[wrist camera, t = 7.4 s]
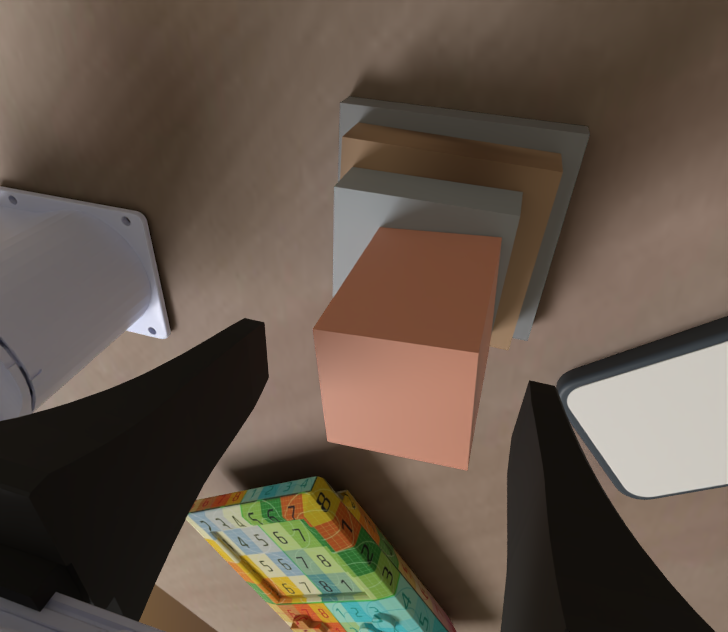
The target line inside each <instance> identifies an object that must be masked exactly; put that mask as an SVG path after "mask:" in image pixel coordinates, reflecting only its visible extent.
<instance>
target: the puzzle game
mask: <svg viewBox="0 0 728 632" xmlns="http://www.w3.org/2000/svg"><path fill="white" fill-rule="evenodd" d="M186 520H187V521H188V522H189V523H190V524H191V525H192V526H193V527H194V528H195V529H196V530H197V531H198V532H199V533H200V534H201V535H202V536H203V537H204V539H205V540H206V541H207V542H208V543H209V544H210V545H211V546H212V547H213V548H214V549H215V550H216V551H217V552H218V553H219V554H220V555H221V556H222V557H223V558H224V559H225V560H226V561H227V562H228V563H229V564H230V565H231V566H232V567H233V568H234V569H235V570H236V571H237V572H238V574H239V575H240V576H241V577H242V578H243V579H244V580H245V581H246V582H247V583H248V584H249V585H250V586H251V587H252V588H253V589H254V590H255V591H256V592H257V593H258V594H259V595H260V596H261V597H262V598H263V599H264V600H265V601H266V602H267V603H268V604H269V605H270V606H271V607H272V609H273V610H274V611H275V612H276V613H277V614H278V615H279V616H280V617H281V618H282V619H283V620H284V621H285V622H286V623H287V624H288V625H289V626H290V627H291V629H292V630H293V631H294V632H456V630H455V628H454V626H453V624H452V622H451V621H450V619H449V617H448V616H447V614H446V613H445V612H444V610H443V609H442V608H441V607H440V605H439V604H438V603H437V602H436V600H435V599H434V598H433V597H432V595H431V594H430V593H429V592H428V590H427V589H426V588H425V587H424V585H423V584H422V583H421V582H420V580H419V579H418V578H417V577H416V575H415V574H414V573H413V572H412V570H411V569H410V568H409V567H408V565H407V564H406V563H405V562H404V560H403V559H402V558H401V556H400V555H399V554H398V553H397V551H396V550H395V549H394V548H393V546H392V545H391V544H390V543H389V541H388V540H387V539H386V538H385V536H384V535H383V534H382V533H381V531H380V530H379V529H378V528H377V526H376V525H375V524H374V523H373V521H372V520H371V519H370V518H369V516H368V515H367V514H366V513H365V511H364V510H363V509H362V507H361V506H360V505H359V504H358V502H357V501H356V500H355V499H354V497H353V496H352V495H351V494H350V492H349V491H348V490H343V491H338V492H335V491H334V490H333V489H332V488H331V486H330V485H329V484H328V482H327V481H326V480H325V479H324V478H321V477H318V476H315V477H310V478H305V479H300V480H295V481H290V482H285V483H280V484H275V485H270V486H265V487H259V488H254V489H249V490H244V491H239V492H234V493H229V494H224V495H219V496H214V497H209V498H204V499H199V500H195V502H194V504H193V506H192V508H191V510H190V512H189V514H188V516H187V518H186Z"/></svg>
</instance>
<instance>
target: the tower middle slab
mask: <svg viewBox="0 0 728 632" xmlns="http://www.w3.org/2000/svg"><path fill="white" fill-rule="evenodd" d="M352 167H357V168H364V169H370V170H377V171H384V172H391V173H397V174H404V175H411V176H417V177H424V178H431V179H438V180H444V181H451V182H458V183H464V184H471V185H478V186H485V187H491V188H498V189H505V190H512V191H518V192H523V195H522V205H521V214H520V219H519V223H518V228H517V232H516V236H515V240H514V244H513V248H512V252H511V256H510V261H509V265H508V269H507V273H506V277H505V281H504V285H503V289H502V294H501V298H500V302H499V306H498V310H497V314H496V318H495V322H494V327H493V331H492V335H491V341H490V346H491V347H495V348H499V349H504V350H509V347H510V344H511V340H512V337H513V334H514V331H515V327H516V324H517V321H518V318H519V314H520V311H521V308H522V304H523V301H524V298H525V295H526V291H527V288H528V285H529V282H530V278H531V275H532V272H533V268H534V265H535V262H536V259H537V255H538V252H539V249H540V246H541V242H542V239H543V236H544V232H545V229H546V226H547V223H548V219H549V216H550V213H551V210H552V206H553V203H554V200H555V197H556V193H557V190H558V187H559V183H560V180H561V177H562V174H563V168H562V157H561V154H560V153H554V152H547V151H541V150H534V149H528V148H521V147H515V146H508V145H502V144H495V143H489V142H482V141H476V140H470V139H463V138H457V137H450V136H444V135H437V134H431V133H424V132H418V131H411V130H405V129H398V128H392V127H385V126H379V125H372V124H366V123H359V122H358V123H357V124H356V125H355V126H354V127H352V128H351V129H350V130H349V131H348V132H347V133H346V134H345V135H343V136H342V150H341V172H340V180H341V179H342V178H343V176H344V175H345V174H346V173H347V172H348V171H349V170H350V169H351V168H352Z"/></svg>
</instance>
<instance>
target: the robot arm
mask: <svg viewBox="0 0 728 632" xmlns="http://www.w3.org/2000/svg"><path fill="white" fill-rule="evenodd" d="M126 217H127V218H128V219H129V220H130V222H129V221H128V220H127V218H126ZM125 331H130V332H135V333H139V334H143V335H147V336H151V337H156V338H160V339H166V338H167V337H168V336H169V335H170V334H171V330H170V326H169V321H168V316H167V312H166V307H165V302H164V298H163V293H162V288H161V284H160V279H159V274H158V269H157V265H156V260H155V255H154V251H153V246H152V241H151V237H150V232H149V227H148V223H147V220H146V218H145V216H144V215H143V214H142V213H140V212H138V211H134V210H128V209H123V208H117V207H112V206H106V205H101V204H95V203H90V202H84V201H79V200H73V199H68V198H62V197H57V196H51V195H46V194H40V193H35V192H29V191H24V190H18V189H13V188H7V187H2V186H0V632H165V631H162V630H159V629H156V628H154V627H151V626H148V625H146V624H143V623H140V622H139V620H140V618H141V615H142V613H143V610H144V608H145V606H146V603H147V601H148V599H149V596H150V594H151V592H152V589H153V587H154V585H155V582H156V580H157V578H158V576H159V574H160V572H161V569H162V567H163V565H164V563H165V561H166V559H167V557H168V554H169V552H170V550H171V548H172V546H173V544H174V542H175V540H176V538H177V536H178V534H179V532H180V530H181V528H182V526H183V524H184V522H185V520H186V518H187V516H188V514H189V512H190V510H191V508H192V506H193V504H194V502H195V500H196V498H197V496H198V495H199V493H200V491H201V489H202V487H203V485H204V483H205V482H206V480H207V478H208V477H209V475H210V474H211V472H212V470H213V469H214V467H215V466H216V464H217V463H218V461H219V460H220V458H221V457H222V455H223V454H224V452H225V451H226V449H227V448H228V446H229V445H230V443H231V442H232V441H233V439H234V438H235V436H236V435H237V433H238V432H239V430H240V429H241V427H242V426H243V424H244V423H245V421H246V420H247V418H248V416H249V415H250V413H251V412H252V410H253V409H254V407H255V405H256V403H257V401H258V399H259V397H260V395H261V393H262V391H263V389H264V387H265V385H266V382H267V380H268V378H269V374H268V362H267V349H266V337H265V324H264V322H260V321H255V320H251V319H246V318H244V319H242V320H240V321H238V322H237V323H235V324H233V325H231V326H230V327H228V328H226V329H224V330H223V331H221V332H219V333H218V334H216V335H214V336H213V337H211V338H209V339H208V340H206V341H204V342H202V343H201V344H199V345H197V346H196V347H194V348H192V349H190V350H189V351H187V352H185V353H183V354H182V355H180V356H178V357H176V358H174V359H172V360H170V361H168V362H166V363H164V364H162V365H161V366H159V367H157V368H155V369H153V370H151V371H149V372H147V373H145V374H143V375H140V376H138V377H136V378H134V379H132V380H129V381H127V382H125V383H122V384H120V385H117V386H115V387H113V388H110V389H108V390H105V391H102V392H99V393H96V394H94V395H91V396H88V397H85V398H82V399H79V400H77V401H74V402H71V403H68V404H64V405H61V406H58V407H54V408H51V409H48V410H44V411H40V412H36V413H33V412H34V411H35V410H36V409H38V408H39V407H40V406H41V405H42V404H43V403H44V402H45V401H47V400H48V399H49V398H50V397H51V396H52V395H53V394H55V393H56V392H57V391H58V390H59V389H60V388H61V387H62V386H64V385H65V384H66V383H67V382H68V381H69V380H70V379H72V378H73V377H74V376H75V375H76V374H77V373H78V372H79V371H81V370H82V369H83V368H84V367H85V366H86V365H87V364H89V363H90V362H91V361H92V360H93V359H94V358H95V357H96V356H98V355H99V354H100V353H101V352H102V351H103V350H104V349H105V348H107V347H108V346H109V345H110V344H111V343H112V342H113V341H115V340H116V339H117V338H118V337H119V336H120V335H121V334H122V333H124V332H125ZM501 632H715V631H714V630H713V629H712V628H711V627H710V626H709V625H708V624H707V623H706V622H705V621H704V620H703V619H702V618H701V617H700V616H699V615H698V614H697V612H696V611H695V610H694V609H693V608H692V607H691V606H690V605H689V604H688V602H687V601H686V600H685V599H684V598H683V597H682V596H681V595H680V593H679V592H678V591H677V590H676V589H675V588H674V587H673V586H672V584H671V583H670V582H669V581H668V580H667V578H666V577H665V576H664V575H663V573H662V572H661V571H660V570H659V568H658V567H657V566H656V565H655V563H654V562H653V561H652V560H651V558H650V557H649V556H648V555H647V553H646V552H645V551H644V549H643V548H642V547H641V546H640V544H639V543H638V541H637V540H636V539H635V537H634V536H633V534H632V533H631V532H630V530H629V529H628V527H627V526H626V525H625V523H624V521H623V520H622V518H621V517H620V515H619V514H618V512H617V511H616V509H615V508H614V506H613V505H612V503H611V501H610V500H609V498H608V497H607V495H606V493H605V491H604V490H603V488H602V486H601V485H600V483H599V481H598V479H597V477H596V476H595V474H594V472H593V470H592V468H591V466H590V464H589V462H588V461H587V459H586V457H585V454H584V452H583V450H582V448H581V446H580V444H579V442H578V440H577V438H576V436H575V433H574V431H573V429H572V427H571V424H570V422H569V419H568V417H567V415H566V412H565V409H564V407H563V404H562V401H561V399H560V396H559V393H558V390H557V389H556V387H555V386H552V385H548V384H543V383H539V382H534V381H530V380H529V383H528V386H527V389H526V393H525V396H524V399H523V402H522V405H521V409H520V412H519V415H518V418H517V421H516V424H515V428H514V431H513V434H512V438H511V446H510V454H509V463H508V472H507V574H506V585H505V595H504V605H503V615H502V624H501Z"/></svg>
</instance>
